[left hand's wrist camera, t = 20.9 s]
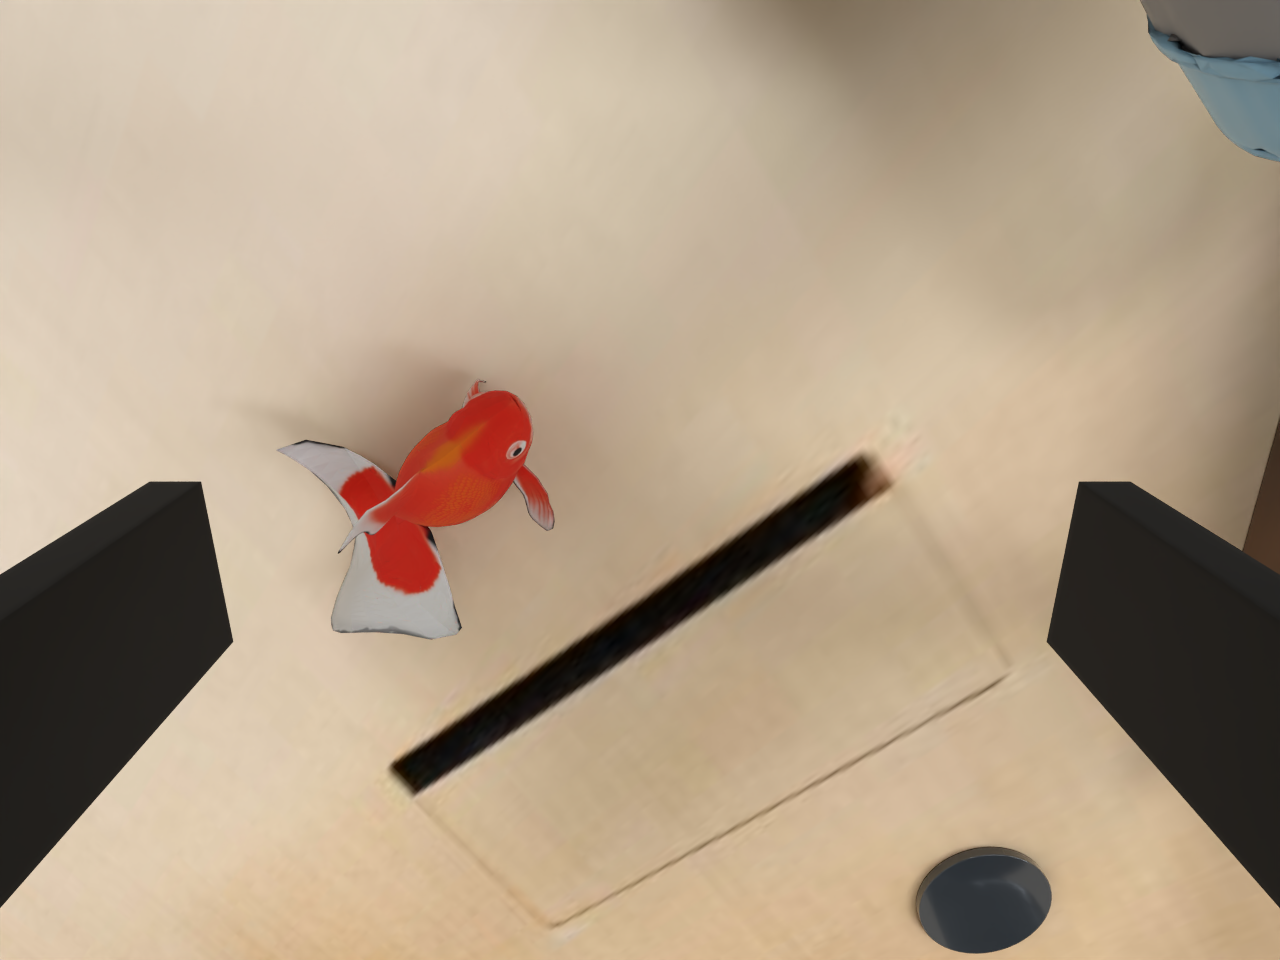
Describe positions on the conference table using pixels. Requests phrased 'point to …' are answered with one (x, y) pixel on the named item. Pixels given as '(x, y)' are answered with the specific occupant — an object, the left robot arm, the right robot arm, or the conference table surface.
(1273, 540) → the bar
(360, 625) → the fish
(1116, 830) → the conference table surface
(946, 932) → the coaster
